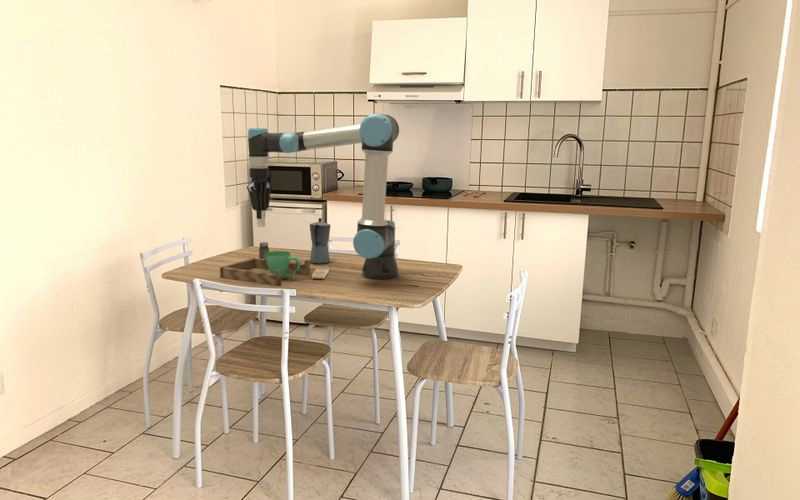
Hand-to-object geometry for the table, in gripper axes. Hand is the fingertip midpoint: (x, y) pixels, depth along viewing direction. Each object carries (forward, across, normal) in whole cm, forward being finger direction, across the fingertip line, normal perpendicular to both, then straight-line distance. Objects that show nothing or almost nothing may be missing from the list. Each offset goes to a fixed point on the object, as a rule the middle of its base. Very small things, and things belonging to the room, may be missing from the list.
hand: (261, 226), depth 239 cm
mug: (+21, 0, +10) cm, 23 cm away
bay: (+20, -2, +1) cm, 20 cm away
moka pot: (+21, -31, +7) cm, 38 cm away
